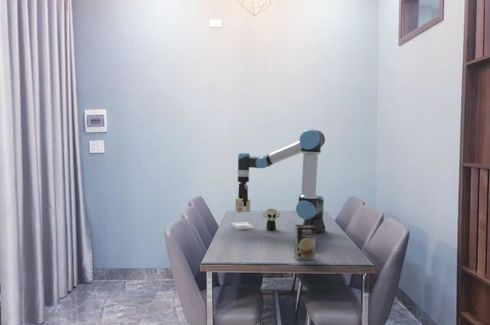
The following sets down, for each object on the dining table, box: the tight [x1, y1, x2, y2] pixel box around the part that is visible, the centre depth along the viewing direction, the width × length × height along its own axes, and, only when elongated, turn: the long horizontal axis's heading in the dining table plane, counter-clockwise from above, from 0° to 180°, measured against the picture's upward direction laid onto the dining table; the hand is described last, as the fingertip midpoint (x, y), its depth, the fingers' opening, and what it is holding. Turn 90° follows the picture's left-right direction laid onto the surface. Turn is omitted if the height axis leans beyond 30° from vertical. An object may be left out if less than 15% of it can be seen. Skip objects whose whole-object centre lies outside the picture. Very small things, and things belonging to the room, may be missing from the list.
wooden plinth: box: [234, 198, 251, 213], centre depth 241 cm, size 8×8×8 cm
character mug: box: [262, 208, 281, 230], centre depth 235 cm, size 11×7×13 cm, turn 95°
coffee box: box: [293, 224, 317, 261], centre depth 177 cm, size 9×6×16 cm
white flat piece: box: [230, 221, 256, 231], centre depth 242 cm, size 16×12×1 cm
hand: (242, 209), depth 242 cm, fingers closed on wooden plinth, 8 cm apart
